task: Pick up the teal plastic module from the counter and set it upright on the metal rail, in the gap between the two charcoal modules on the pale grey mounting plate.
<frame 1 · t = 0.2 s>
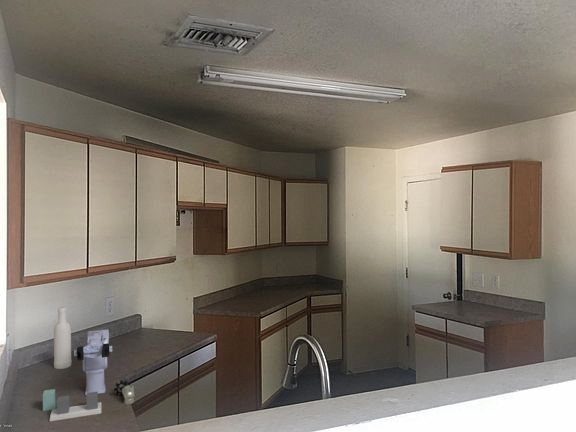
hand: (92, 356, 182), 21 cm above the counter, tool horizontal, fingers open, 7 cm apart
valve: (125, 400, 192), on the counter
bottle: (62, 366, 232), on the counter
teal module: (49, 407, 184), on the counter
rail plate: (78, 412, 179), on the counter
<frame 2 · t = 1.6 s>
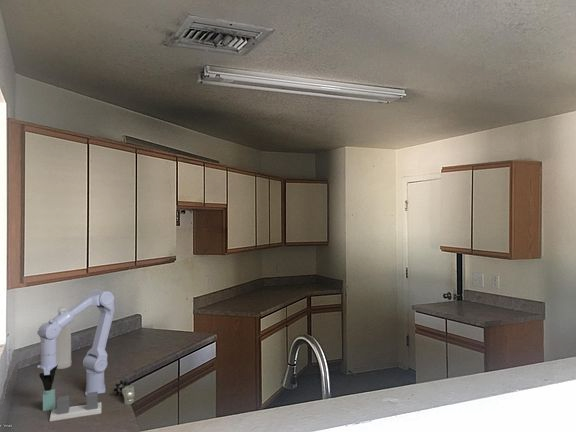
hand: (49, 387, 183), 8 cm above the counter, tool pointing down, fingers open, 7 cm apart
nothing on the counter moved.
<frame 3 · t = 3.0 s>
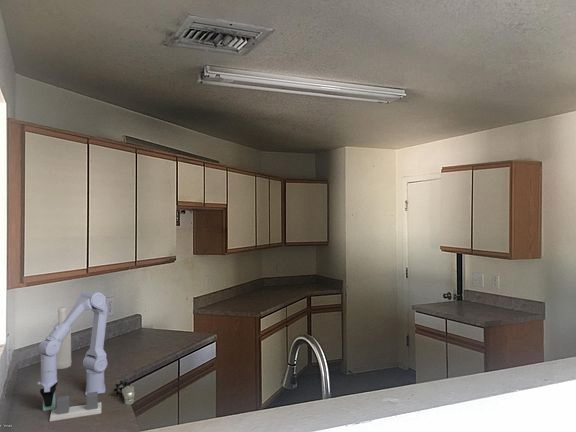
hand: (49, 403, 184), 2 cm above the counter, tool pointing down, fingers closed on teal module, 4 cm apart
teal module: (49, 407, 184), on the counter, touching gripper
everything else where it was.
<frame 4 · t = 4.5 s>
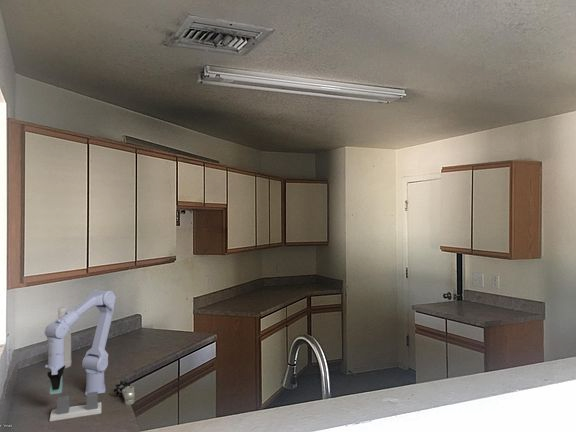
hand: (56, 386, 182), 9 cm above the counter, tool pointing down, fingers closed on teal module, 4 cm apart
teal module: (56, 391, 182), point 7 cm above the counter, touching gripper
everything else where it was.
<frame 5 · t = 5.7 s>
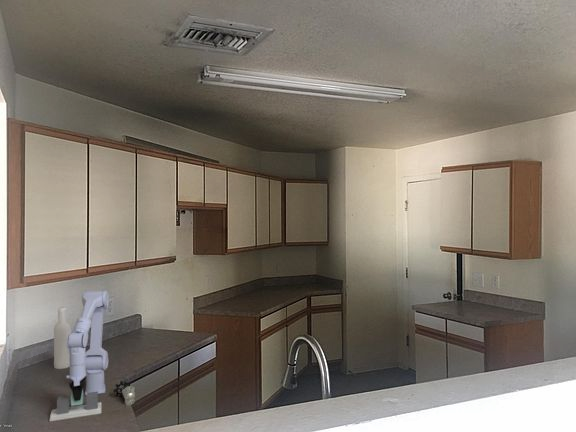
hand: (77, 397, 179), 6 cm above the counter, tool pointing down, fingers closed on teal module, 4 cm apart
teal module: (77, 402, 179), point 4 cm above the counter, touching gripper
when the fingers open (4 cm above the counter, at t = 6.5 s): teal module stays where it is, resting on rail plate.
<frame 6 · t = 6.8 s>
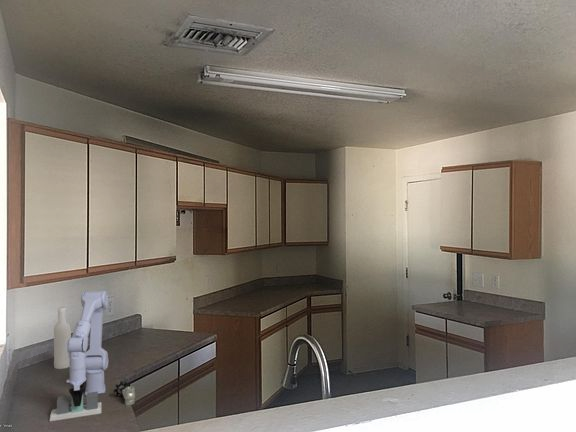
hand: (78, 402, 179), 4 cm above the counter, tool pointing down, fingers open, 7 cm apart
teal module: (77, 409, 179), point 1 cm above the counter, touching rail plate
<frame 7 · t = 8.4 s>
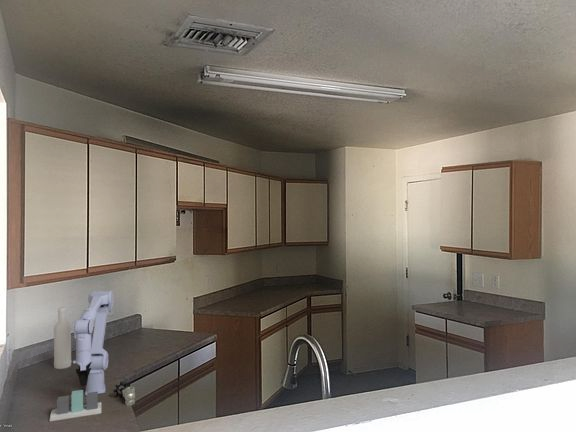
hand: (84, 382, 186), 9 cm above the counter, tool pointing down, fingers open, 7 cm apart
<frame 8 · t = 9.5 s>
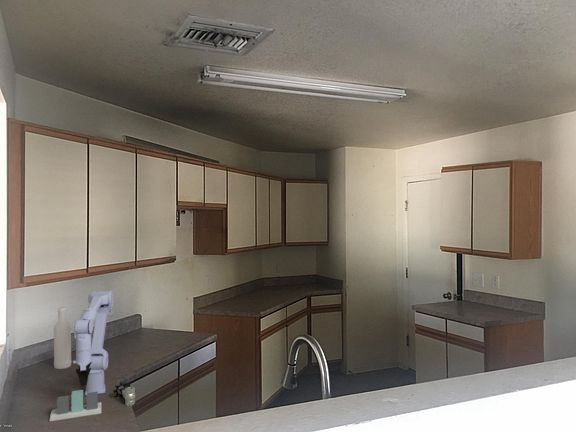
hand: (84, 382, 186), 9 cm above the counter, tool pointing down, fingers open, 7 cm apart
at the end: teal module 0.2 cm off-centre on the rail plate, point 1.3 cm above the rail plate's base; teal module tilted 0°; the gripper is holding nothing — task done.
